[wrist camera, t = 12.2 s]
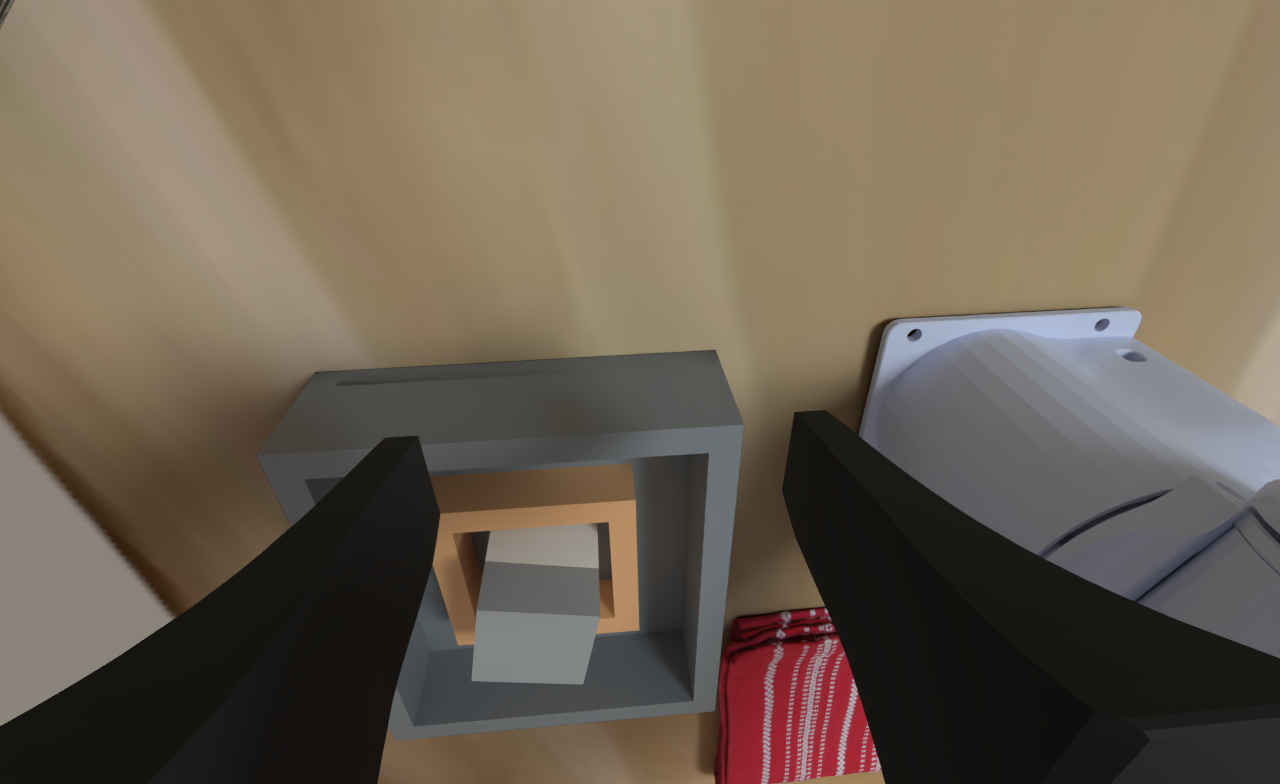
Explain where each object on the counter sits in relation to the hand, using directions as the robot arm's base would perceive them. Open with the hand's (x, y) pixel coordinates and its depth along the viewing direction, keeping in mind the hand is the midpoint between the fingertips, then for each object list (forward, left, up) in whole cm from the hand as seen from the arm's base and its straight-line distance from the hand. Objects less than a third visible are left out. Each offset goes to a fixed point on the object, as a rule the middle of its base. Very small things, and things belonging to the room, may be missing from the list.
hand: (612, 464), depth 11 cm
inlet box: (+3, +11, -9) cm, 15 cm away
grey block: (+3, +11, -8) cm, 14 cm away
